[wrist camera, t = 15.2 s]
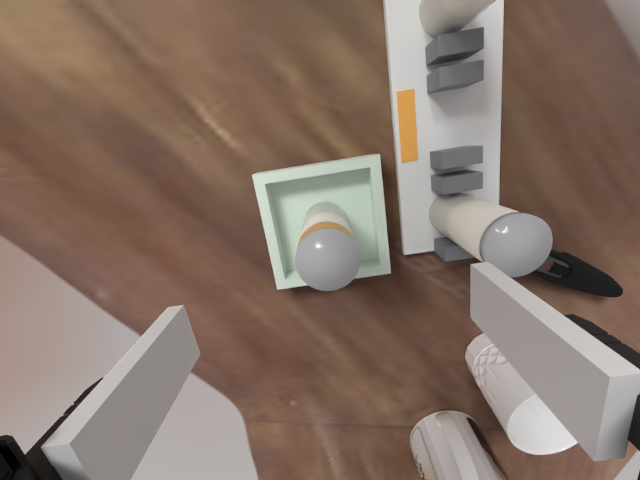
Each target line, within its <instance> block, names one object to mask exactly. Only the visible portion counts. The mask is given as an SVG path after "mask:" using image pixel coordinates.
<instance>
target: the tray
mask: <svg viewBox="0 0 640 480" xmlns="http://www.w3.org/2000/svg"><path fill="white" fill-rule="evenodd" d="M252 177H253V181H254V186H255V190H256V195H257V200H258V204H259V209H260V213H261V218H262V222H263V227H264V231H265V236H266V240H267V245H268V249H269V254H270V258H271V263H272V267H273V272H274V276H275V281H276V286H277V290H278V289H285V288H292V287H299V286H306V285H307V284H306V283H305V282H304V281H303V280H302V279H301V278H300V276H299V274H298V272H297V270H296V266H295V256H296V251H297V247H298V243H299V240H300V237H301V232H302V228H303V223H304V219H305V215H306V213H307V211H308V210H309V208H310V207H312V206H313V205H314V204H316V203H319V202H331V203H334V204H336V205H338V206H339V207H340V208H341V209H342V210H343V212H344V214H345V217H346V220H347V222H348V225H349V228H350V231H351V233H352V236H353V238H354V240H355V242H356V245H357V248H358V251H359V254H360V267H359V270H358V273H357V274H356V276H355V278H354V279H356V278H363V277H370V276H377V275H384V274H391V267H390V257H389V246H388V235H387V224H386V213H385V202H384V192H383V181H382V170H381V159H380V154H370V155H364V156H357V157H351V158H345V159H339V160H333V161H326V162H320V163H314V164H308V165H302V166H296V167H289V168H283V169H277V170H271V171H265V172H258V173H256V174H253V175H252Z"/></svg>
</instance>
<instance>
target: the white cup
mask: <svg viewBox="0 0 640 480" xmlns="http://www.w3.org/2000/svg"><path fill="white" fill-rule="evenodd" d="M465 360H466V363H467V366H468V368H469V370H470V371H471V373H472V375H473V376H474V378H475V381H476V383H477V385H478V386H479V388H480V390H481V391H482V393H483V395H484V397H485V399H486V401H487V402H488V404H489V406H490V407H491V409H492V411H493V412H494V414H495V416H496V417H497V419H498V421H499V423H500V424H501V426H502V428H503V429H504V431H505V433H506V435H507V436H508V438H509V440H510V441H511V443H512V444H513V445H514V446H515V447H516V448H518V449H519V450H521V451H523V452H526V453H529V454H535V455H548V454H554V453H558V452H561V451H564V450H566V449H568V448H570V447H572V446H574V445H575V444H577V443H578V442H577V441H576V440H575V439H574V437H573V436H572V435H571V434H570V433H569V432H568V430H567V429H566V428H565V427H564V426H563V425H562V423H561V422H560V421H559V420H558V419H557V418H556V417H555V415H554V414H553V413H552V412H551V411H550V410H549V408H548V407H547V406H546V405H545V404H544V403H543V401H542V400H541V399H540V398H539V397H538V396H537V394H536V393H535V392H534V391H533V390H532V389H531V387H530V386H529V385H528V384H527V383H526V382H525V380H524V379H523V378H522V377H521V376H520V375H519V373H518V372H517V371H516V370H515V369H514V368H513V366H512V365H511V364H510V363H509V362H508V361H507V360H506V358H505V357H504V356H503V355H502V354H501V353H500V351H499V350H498V349H497V348H496V347H495V346H494V344H493V343H492V342H491V341H490V340H489V339H488V337H487V336H486V335H485V334H484V333H483V334H481V335H479V336H477V337H475V338H474V339H473V340H472V342H471V343H470V344H469V345H468V346H467V350H466V354H465Z"/></svg>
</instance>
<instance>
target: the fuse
mask: <svg viewBox="0 0 640 480" xmlns="http://www.w3.org/2000/svg"><path fill="white" fill-rule="evenodd" d="M429 220H430V223H431V224H432V226H433V227H434V228H435V229H436V230H438V231H439V232H441V233H442V234H443V235H445V236H446V237H448V238H449V239H450V240H452V241H453V242H455V243H456V244H458V245H459V246H460V247H462V248H463V249H465V250H466V251H467V252H469V253H470V254H472V255H473V256H474V257H476V258H477V259H479V260H480V261H481V262H489V263H491V264H492V265H494V266H495V267H496V268H498V269H499V270H501V271H502V272H503V273H505V274H506V275H508V276H509V277H520V276H524V275H527V274H529V273H531V272H533V271H534V270H536V269H537V268H538V267H540V266H541V265H542V264H543V263H544V261H545V260H546V259H547V257H548V255H549V253H550V251H551V248H552V243H553V237H552V232H551V229H550V227H549V226H548V224H547V223H546V222H545V221H544V220H542V219H541V218H539V217H537V216H533V215H530V214H527V213H523V212H519V211H516V210H512V209H509V208H506V207H503V206H500V205H497V204H494V203H491V202H488V201H485V200H482V199H479V198H476V197H473V196H470V195H466V194H463V193H460V192H458V193H451V194H444V195H443V194H441V195H439V196H438V197H437V198H436V199H435V200H434V201H433V202H432V204H431V206H430V209H429Z"/></svg>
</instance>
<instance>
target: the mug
mask: <svg viewBox="0 0 640 480" xmlns="http://www.w3.org/2000/svg"><path fill="white" fill-rule="evenodd" d="M410 447H411V450H412V454H413V457H414V460H415V464H416V467H417V470H418V474H419V477H420V480H510V479H509V478H508V476H507V474H506V472H505V471H504V469H503V467H502V465H501V464H500V462H499V460H498V458H497V457H496V455H495V453H494V451H493V449H492V448H491V446H490V444H489V442H488V441H487V439H486V437H485V435H484V434H483V432H482V430H481V428H480V427H479V425H478V423H477V422H476V421H475V420H474V419H473V418H472V417H471V416H469V415H467V414H465V413H463V412H459V411H453V410H445V411H438V412H435V413H432V414H430V415H427V416H426V417H424V418H423V419H421V420H420V421H419V422H418V423H417V424H416V425H415V426H414V428H413V429H412V432H411V435H410Z"/></svg>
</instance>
